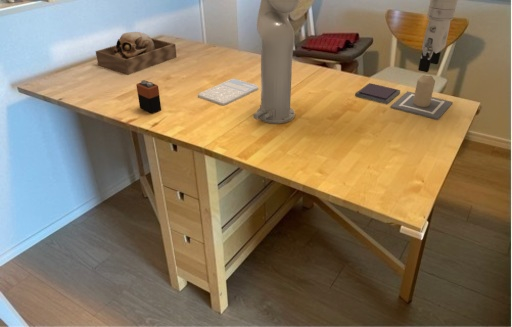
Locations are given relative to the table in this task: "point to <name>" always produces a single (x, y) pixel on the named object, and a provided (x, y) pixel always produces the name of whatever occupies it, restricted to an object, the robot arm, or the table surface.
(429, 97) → the candle
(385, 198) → the table surface
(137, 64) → the wooden tray
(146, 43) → the brown skull
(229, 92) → the calculator
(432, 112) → the marked board
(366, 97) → the ink pad
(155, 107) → the battery
